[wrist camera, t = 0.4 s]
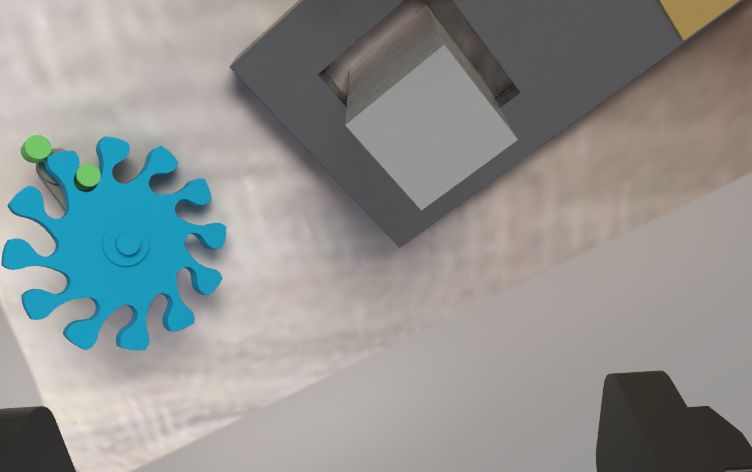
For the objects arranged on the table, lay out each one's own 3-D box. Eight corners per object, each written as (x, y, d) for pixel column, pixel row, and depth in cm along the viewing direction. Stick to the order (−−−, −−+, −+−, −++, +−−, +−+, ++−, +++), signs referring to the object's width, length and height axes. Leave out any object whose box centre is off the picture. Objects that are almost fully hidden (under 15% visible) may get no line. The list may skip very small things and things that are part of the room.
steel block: (426, 4, 30) (444, 44, 23) (484, 80, 32) (517, 139, 25) (350, 68, 32) (345, 125, 24) (409, 138, 33) (421, 210, 26)
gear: (268, 266, 35) (101, 401, 30) (223, 268, 40) (73, 384, 35) (140, 75, 31) (-71, 190, 26) (108, 102, 36) (-75, 204, 31)
